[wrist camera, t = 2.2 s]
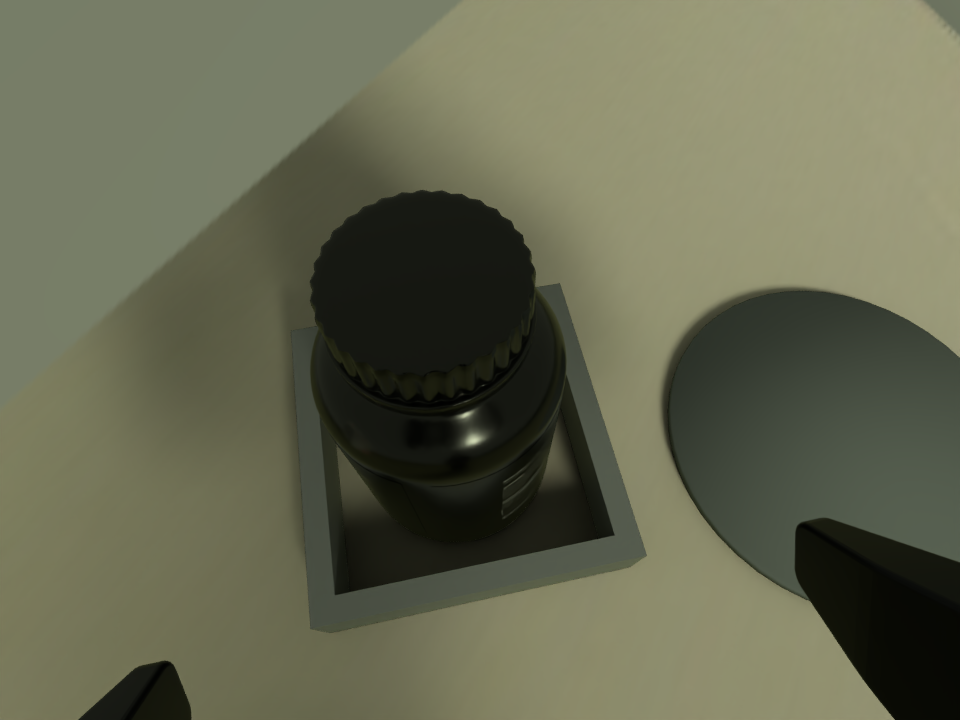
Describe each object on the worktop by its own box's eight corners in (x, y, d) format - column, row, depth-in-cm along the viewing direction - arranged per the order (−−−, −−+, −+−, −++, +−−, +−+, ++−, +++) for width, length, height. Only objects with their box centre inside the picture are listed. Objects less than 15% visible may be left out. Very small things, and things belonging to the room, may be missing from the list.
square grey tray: (629, 567, 21) (646, 555, 19) (329, 632, 20) (310, 628, 18) (553, 316, 26) (559, 283, 24) (308, 360, 25) (290, 330, 23)
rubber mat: (1063, 414, 23) (1072, 410, 23) (943, 707, 19) (952, 708, 19) (762, 247, 27) (766, 242, 27) (603, 458, 23) (605, 455, 22)
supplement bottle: (501, 352, 25) (512, 120, 14) (574, 502, 22) (656, 351, 11) (345, 411, 24) (230, 206, 13) (400, 577, 21) (309, 486, 10)
